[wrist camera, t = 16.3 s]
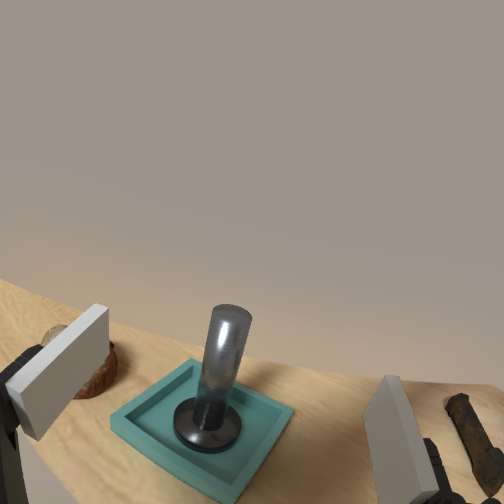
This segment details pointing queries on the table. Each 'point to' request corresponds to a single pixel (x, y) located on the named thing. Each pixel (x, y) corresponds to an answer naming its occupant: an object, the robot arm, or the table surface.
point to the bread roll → (99, 377)
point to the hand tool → (477, 445)
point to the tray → (191, 462)
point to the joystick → (215, 386)
